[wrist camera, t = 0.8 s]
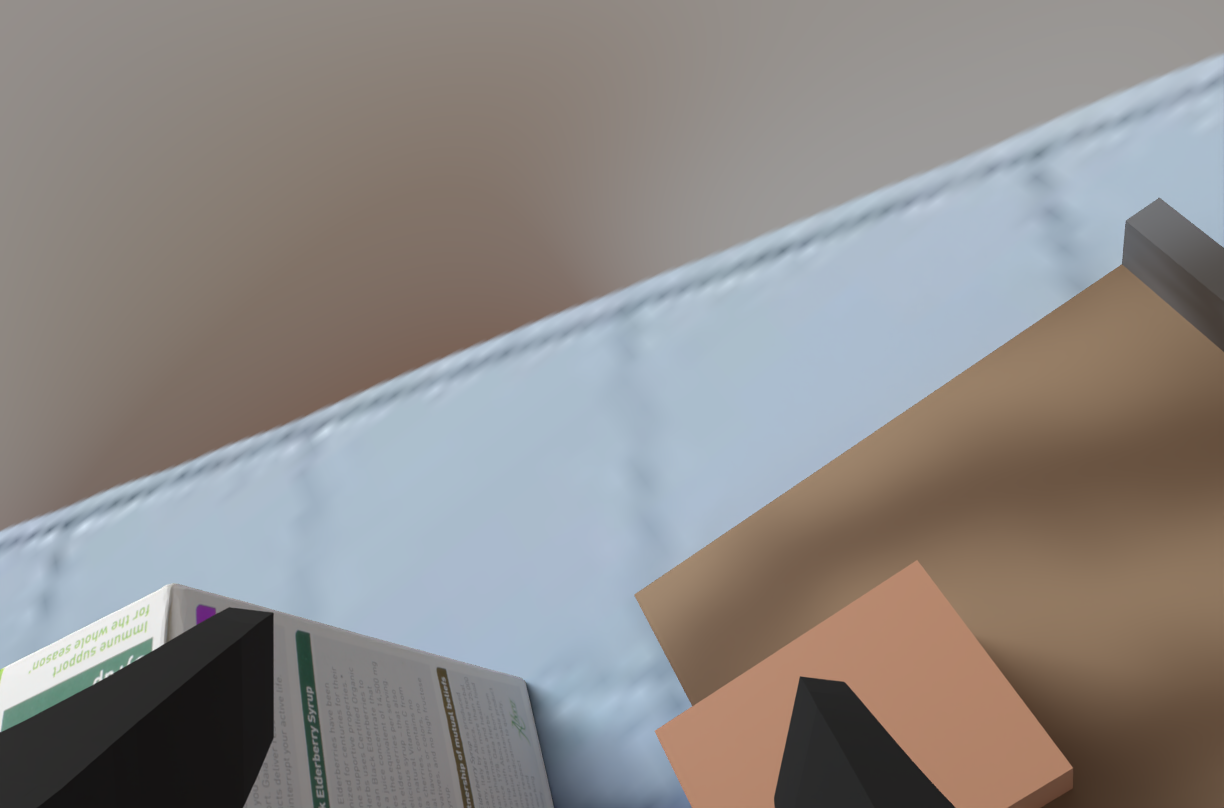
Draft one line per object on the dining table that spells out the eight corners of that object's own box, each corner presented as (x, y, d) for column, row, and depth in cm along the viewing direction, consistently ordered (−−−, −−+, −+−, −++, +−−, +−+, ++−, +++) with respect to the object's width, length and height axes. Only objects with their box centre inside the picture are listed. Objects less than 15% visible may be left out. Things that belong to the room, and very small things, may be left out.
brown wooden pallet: (2199, 1141, 14) (2469, 1211, 12) (1182, 1607, 17) (1204, 1760, 14) (1153, 263, 27) (1163, 195, 24) (649, 603, 29) (603, 577, 26)
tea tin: (1073, 788, 21) (1072, 767, 16) (843, 925, 22) (763, 954, 17) (953, 626, 24) (915, 558, 18) (750, 755, 25) (653, 728, 19)
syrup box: (528, 671, 30) (167, 558, 18) (572, 866, 27) (171, 885, 15) (386, 733, 31) (-39, 665, 19) (412, 925, 28) (-75, 985, 16)
